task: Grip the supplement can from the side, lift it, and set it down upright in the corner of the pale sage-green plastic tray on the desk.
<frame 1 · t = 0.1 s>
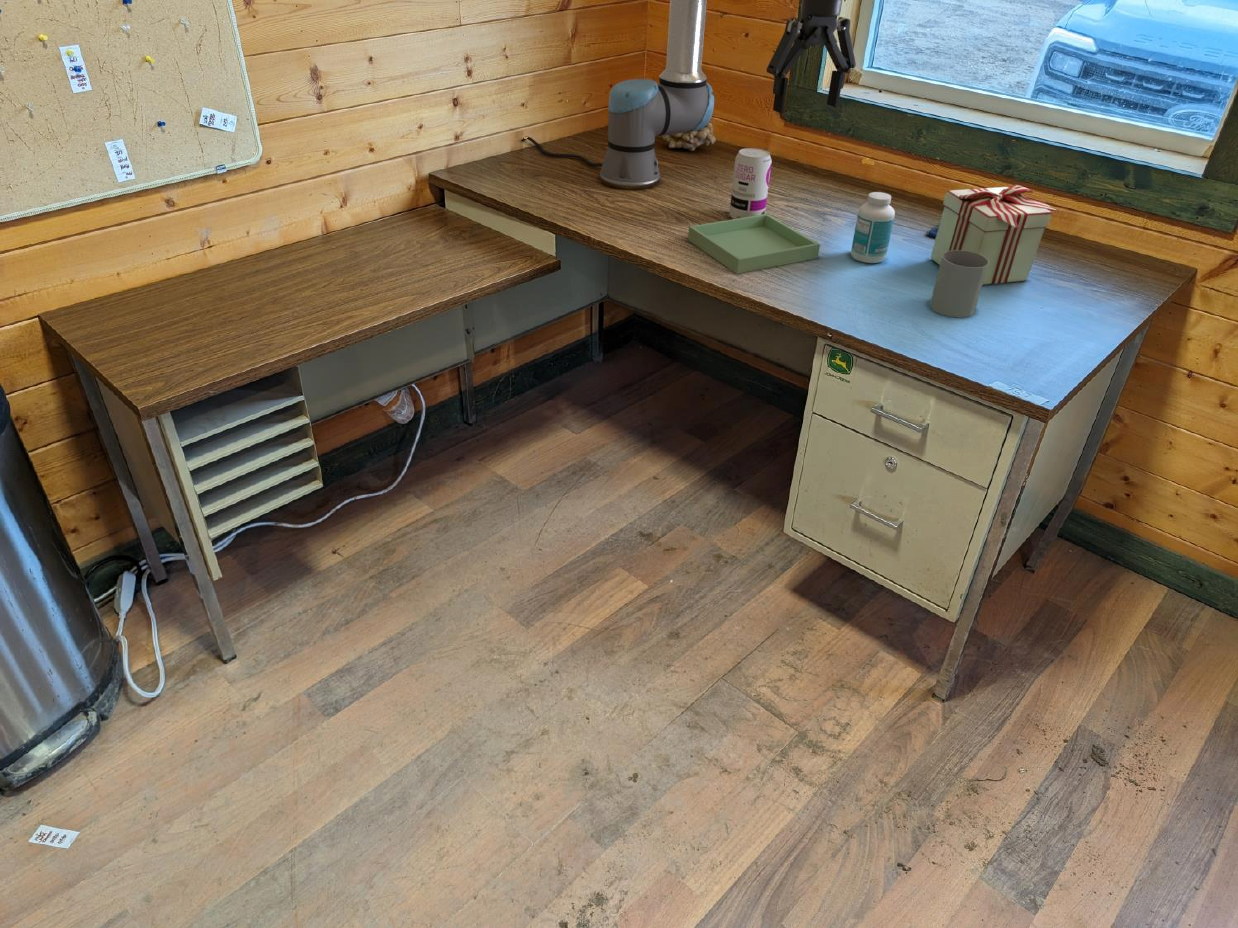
hand: (805, 109, 179), 28 cm above the table, tool pointing down, fingers open, 13 cm apart
tray: (751, 249, 191), on the table
cup: (951, 308, 171), on the table
cell phone: (953, 232, 203), on the table
gift box: (984, 273, 185), on the table
pill bottle: (867, 258, 189), on the table
mineral formation: (690, 149, 250), on the table
supplement can: (746, 218, 207), on the table
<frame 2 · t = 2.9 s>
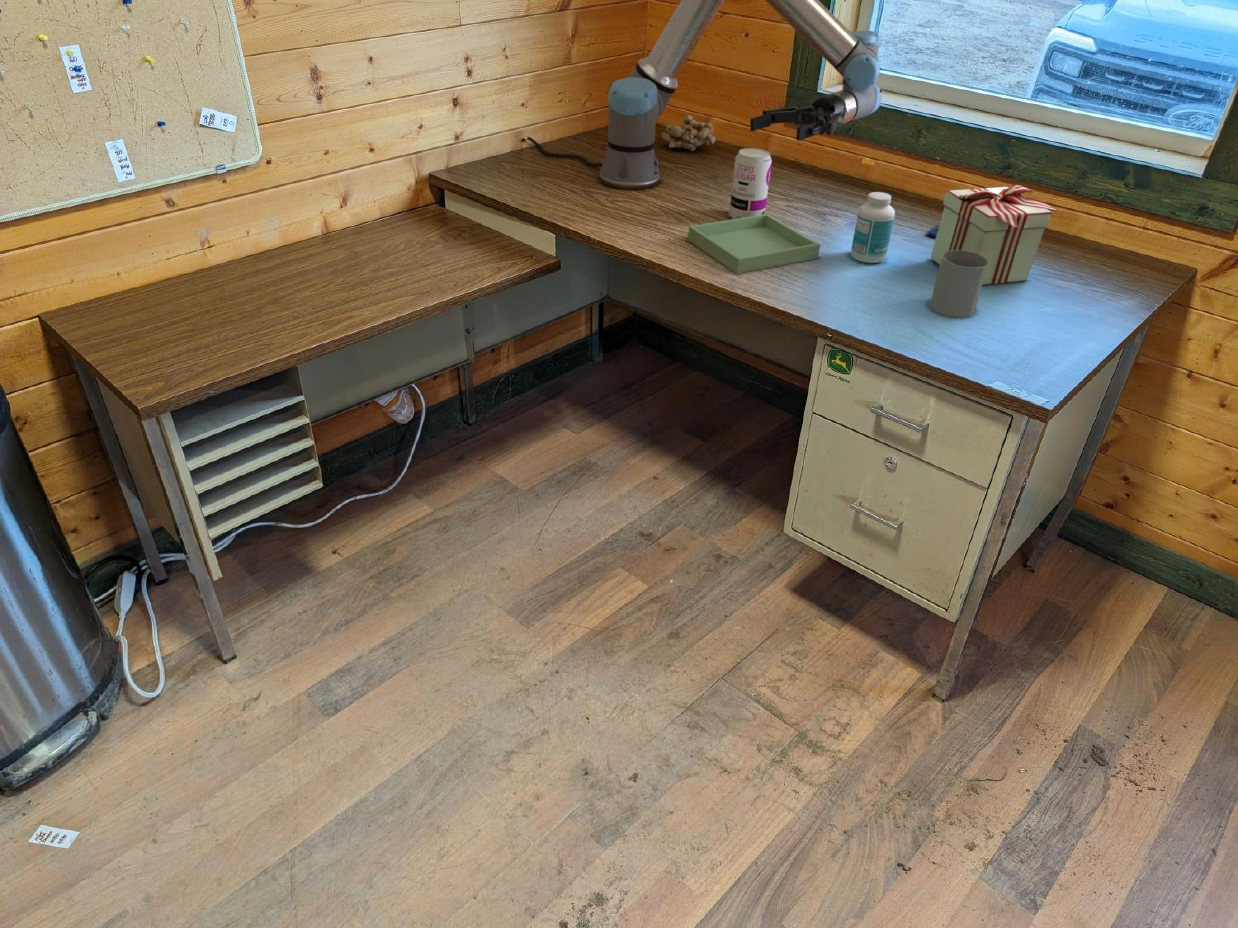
hand: (774, 129, 201), 19 cm above the table, tool horizontal, fingers open, 13 cm apart
nothing on the table moved.
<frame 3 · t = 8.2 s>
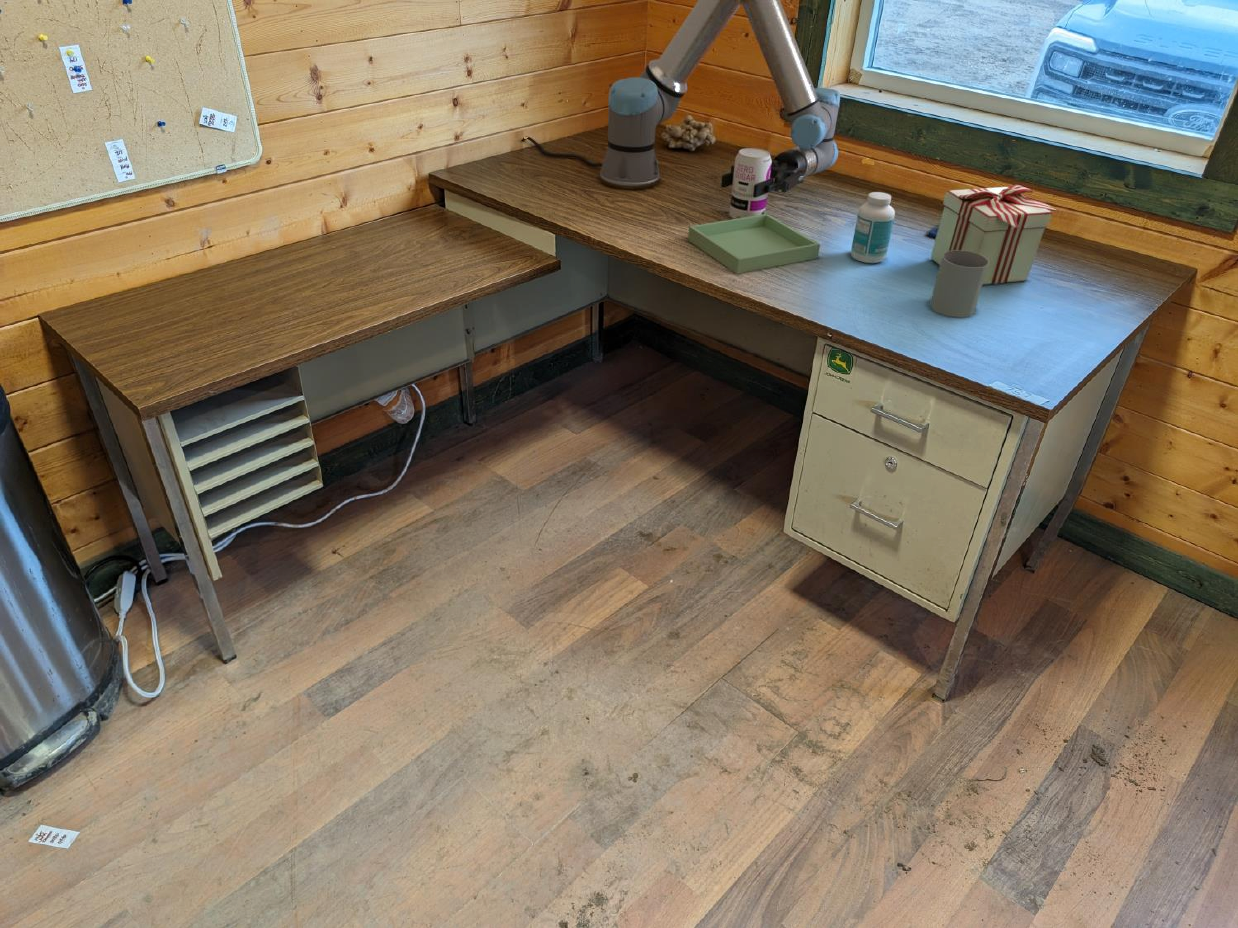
hand: (738, 186, 199), 8 cm above the table, tool horizontal, fingers closed on supplement can, 8 cm apart
supplement can: (746, 218, 207), on the table, touching gripper
everything else where it was.
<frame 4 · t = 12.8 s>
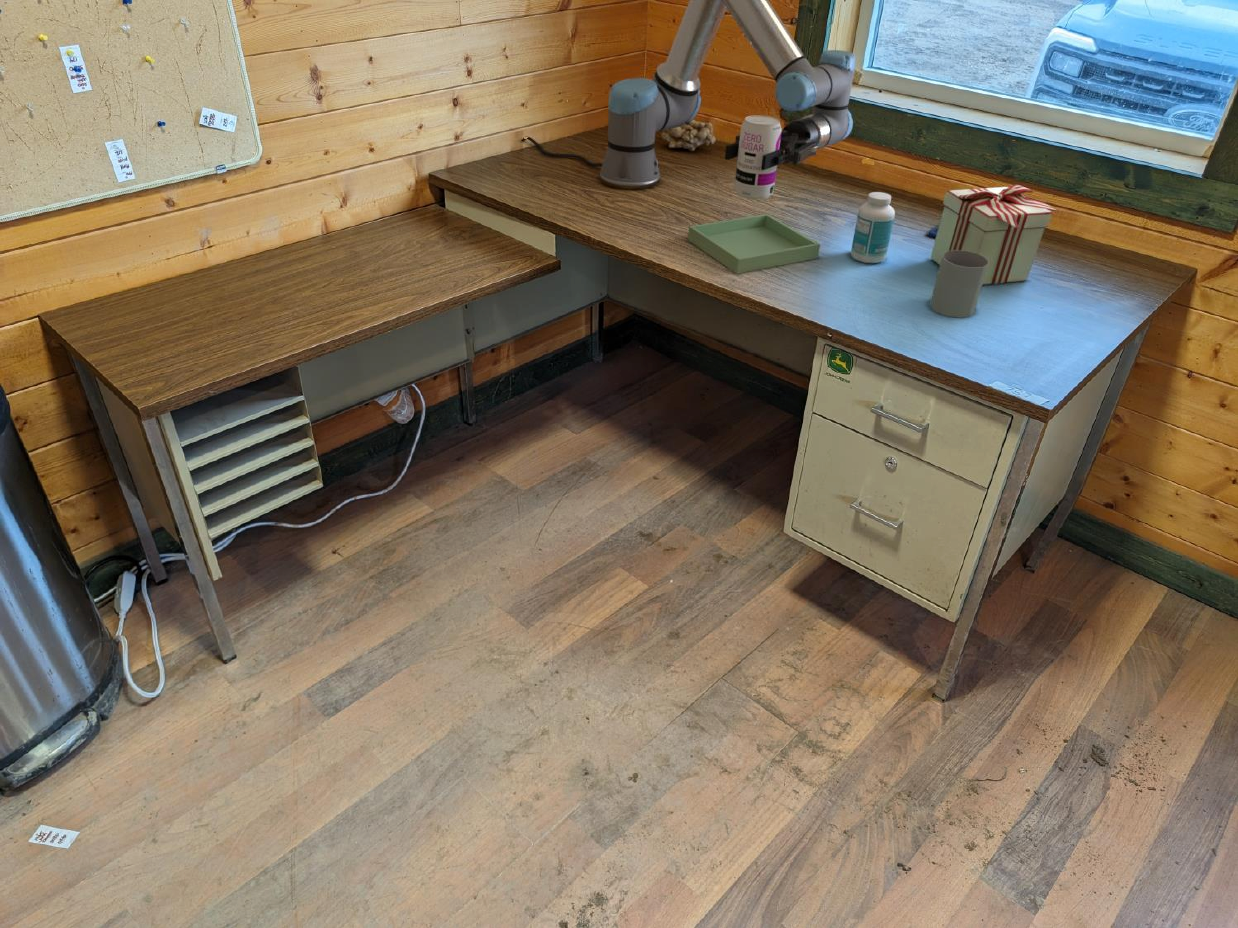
hand: (745, 157, 178), 20 cm above the table, tool horizontal, fingers closed on supplement can, 8 cm apart
supplement can: (753, 195, 186), point 11 cm above the table, touching gripper
everything else where it was.
when the fingers open (9 cm above the table, at t = 17.2 s): supplement can stays where it is, resting on tray.
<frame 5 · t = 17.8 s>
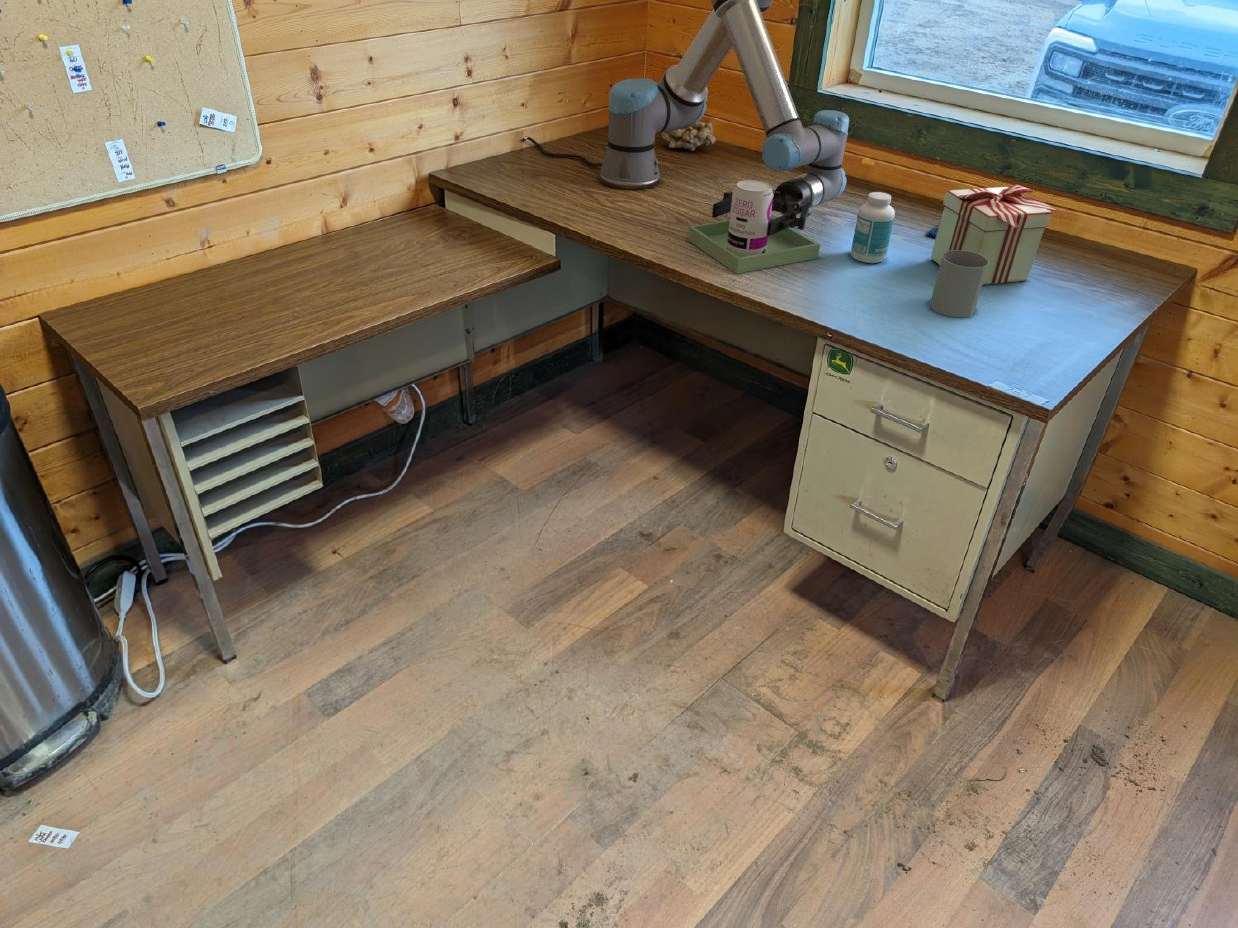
hand: (740, 220, 179), 9 cm above the table, tool horizontal, fingers open, 13 cm apart
supplement can: (745, 257, 186), resting on tray
everything else where it was.
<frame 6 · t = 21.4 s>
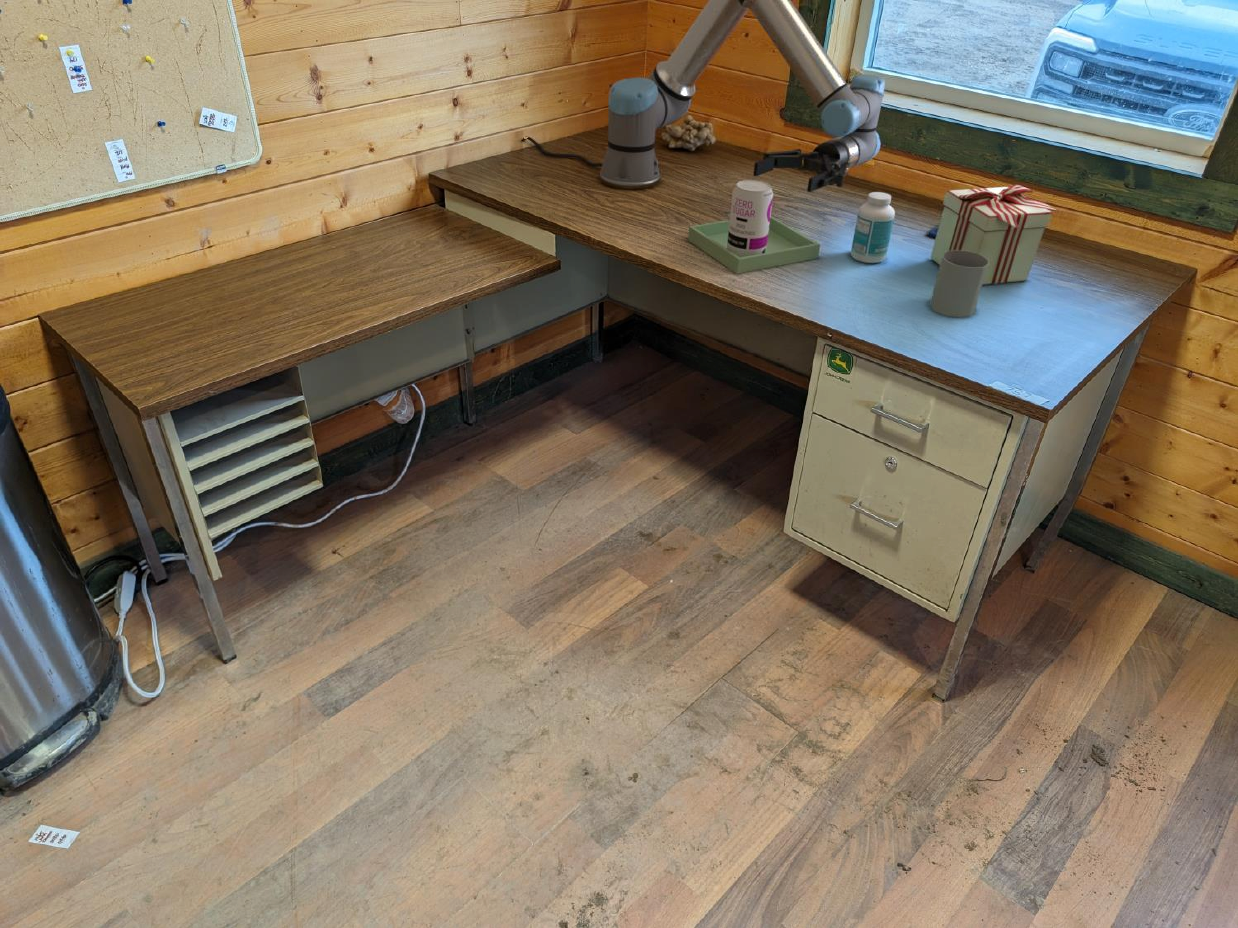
hand: (781, 177, 186), 14 cm above the table, tool horizontal, fingers open, 13 cm apart
nothing on the table moved.
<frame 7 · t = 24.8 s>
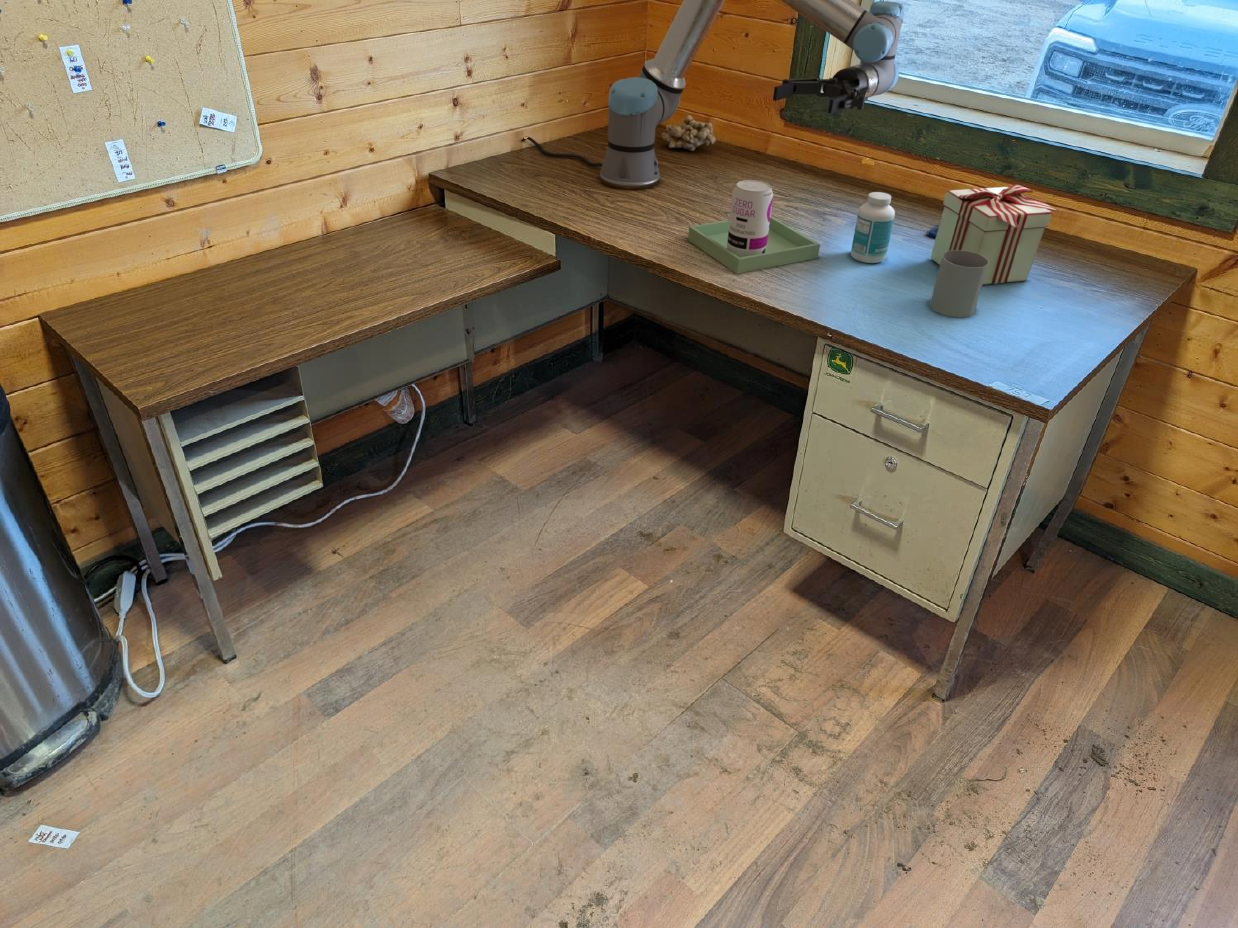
hand: (802, 100, 185), 28 cm above the table, tool horizontal, fingers open, 13 cm apart
nothing on the table moved.
at the end: supplement can 0.2 cm from the target spot in the tray, point 0.4 cm above the tray's base; supplement can tilted 0°; the gripper is holding nothing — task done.
